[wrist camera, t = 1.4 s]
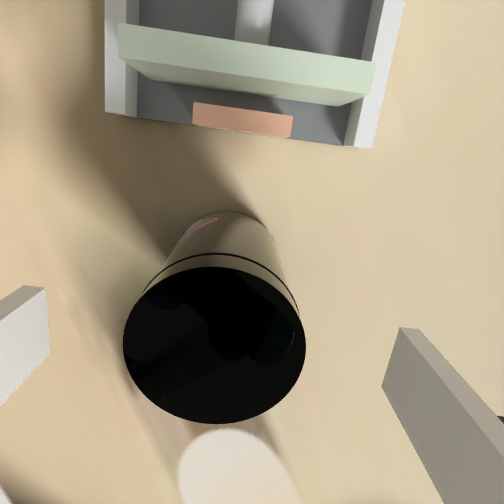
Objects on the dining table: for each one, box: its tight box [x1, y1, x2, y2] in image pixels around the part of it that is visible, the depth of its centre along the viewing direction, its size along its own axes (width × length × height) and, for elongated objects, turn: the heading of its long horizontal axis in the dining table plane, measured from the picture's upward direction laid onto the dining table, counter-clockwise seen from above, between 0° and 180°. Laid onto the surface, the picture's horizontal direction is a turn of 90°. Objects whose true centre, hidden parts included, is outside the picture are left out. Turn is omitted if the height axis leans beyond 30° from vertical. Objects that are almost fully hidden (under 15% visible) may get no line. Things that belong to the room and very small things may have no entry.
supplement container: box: [123, 212, 306, 424], centre depth 17 cm, size 7×7×10 cm
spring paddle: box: [118, 0, 377, 107], centre depth 15 cm, size 5×10×5 cm, turn 83°
